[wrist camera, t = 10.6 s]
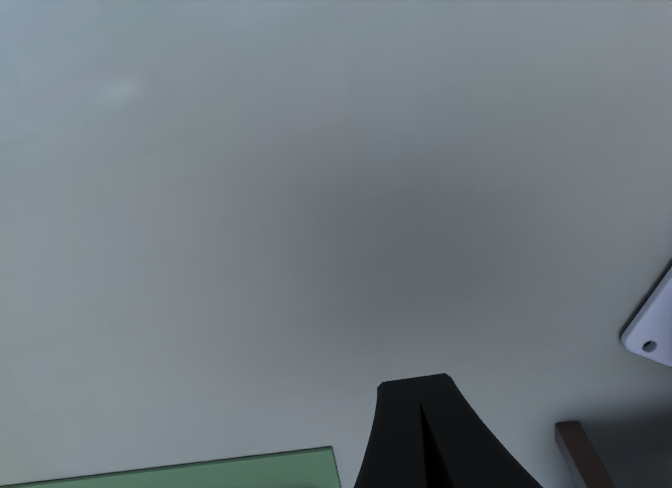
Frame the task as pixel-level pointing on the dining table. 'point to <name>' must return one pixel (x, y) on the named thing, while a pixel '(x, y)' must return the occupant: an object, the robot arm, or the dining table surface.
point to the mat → (221, 474)
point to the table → (581, 457)
